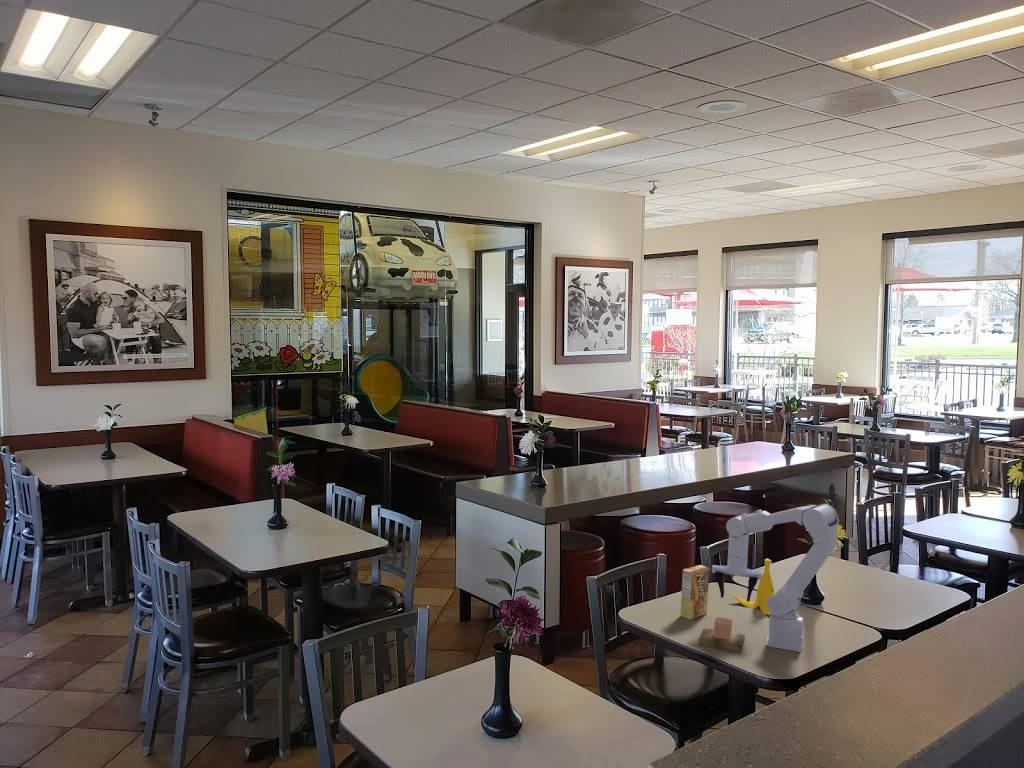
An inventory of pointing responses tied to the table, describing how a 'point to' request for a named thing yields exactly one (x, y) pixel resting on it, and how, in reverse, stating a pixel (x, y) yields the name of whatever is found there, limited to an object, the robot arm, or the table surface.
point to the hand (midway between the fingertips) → (735, 598)
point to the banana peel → (761, 591)
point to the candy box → (694, 592)
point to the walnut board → (722, 640)
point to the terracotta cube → (722, 628)
